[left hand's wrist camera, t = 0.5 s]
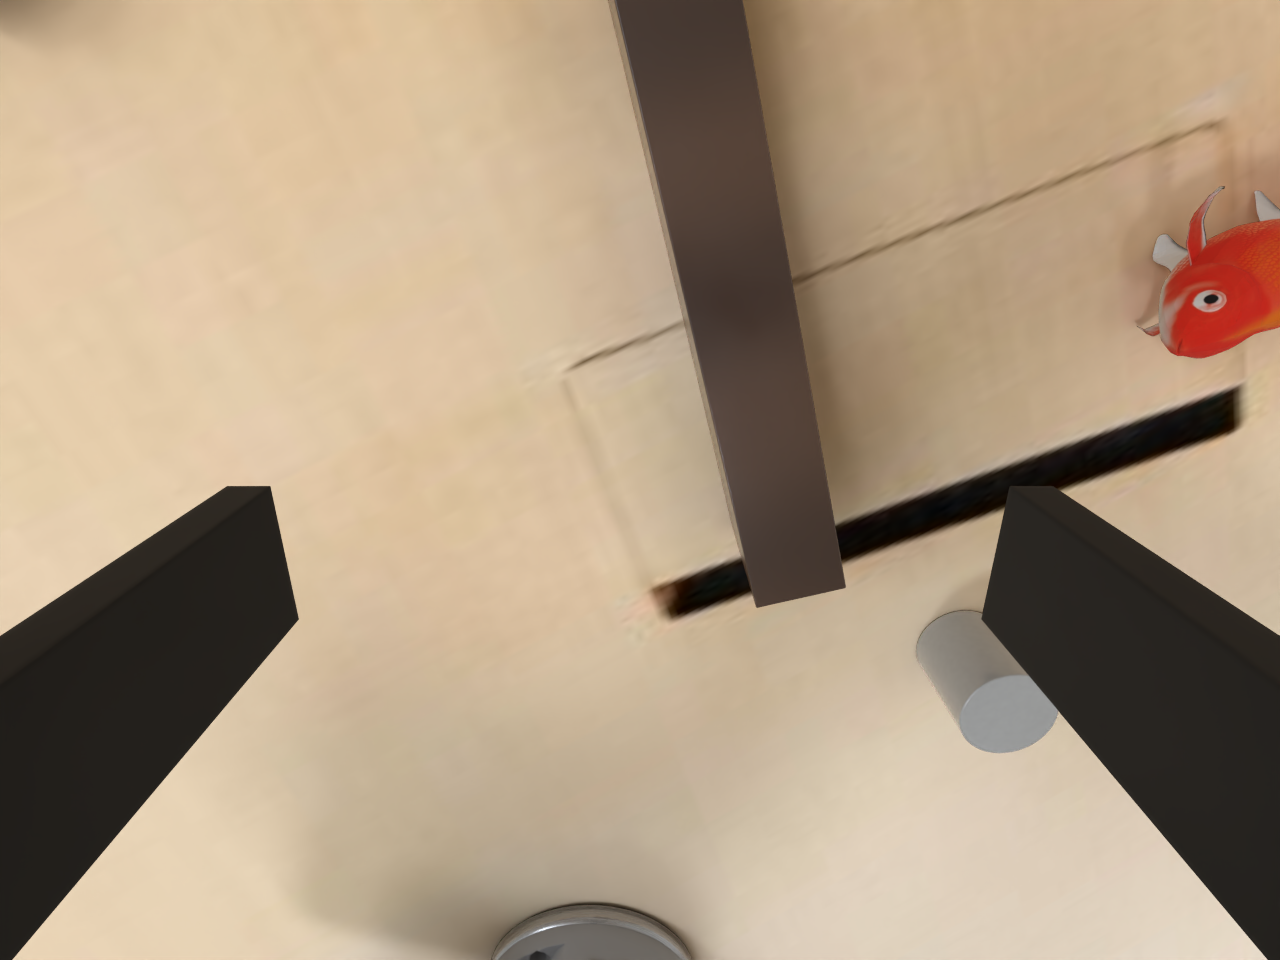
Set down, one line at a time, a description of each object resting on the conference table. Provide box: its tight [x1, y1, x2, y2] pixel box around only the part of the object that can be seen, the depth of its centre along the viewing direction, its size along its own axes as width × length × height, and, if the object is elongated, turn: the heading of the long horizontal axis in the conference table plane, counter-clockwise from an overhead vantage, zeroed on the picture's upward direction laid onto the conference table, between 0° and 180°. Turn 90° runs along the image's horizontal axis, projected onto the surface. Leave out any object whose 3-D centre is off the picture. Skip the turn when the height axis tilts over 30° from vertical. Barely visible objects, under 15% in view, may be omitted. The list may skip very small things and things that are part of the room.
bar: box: [608, 0, 846, 608], centre depth 29 cm, size 26×4×8 cm, turn 15°
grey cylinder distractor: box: [916, 610, 1058, 753], centre depth 38 cm, size 5×5×6 cm
